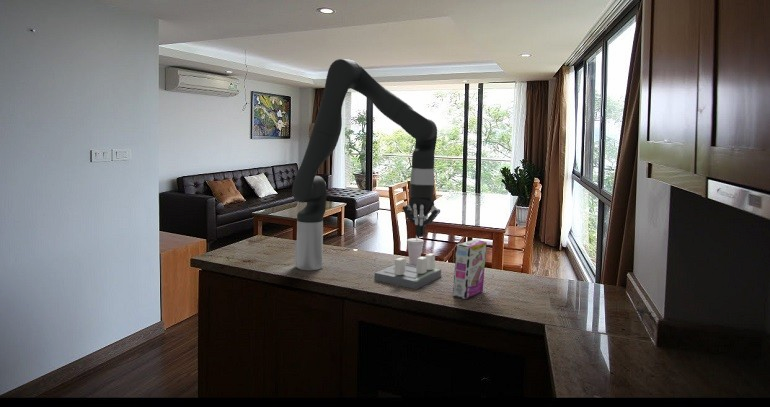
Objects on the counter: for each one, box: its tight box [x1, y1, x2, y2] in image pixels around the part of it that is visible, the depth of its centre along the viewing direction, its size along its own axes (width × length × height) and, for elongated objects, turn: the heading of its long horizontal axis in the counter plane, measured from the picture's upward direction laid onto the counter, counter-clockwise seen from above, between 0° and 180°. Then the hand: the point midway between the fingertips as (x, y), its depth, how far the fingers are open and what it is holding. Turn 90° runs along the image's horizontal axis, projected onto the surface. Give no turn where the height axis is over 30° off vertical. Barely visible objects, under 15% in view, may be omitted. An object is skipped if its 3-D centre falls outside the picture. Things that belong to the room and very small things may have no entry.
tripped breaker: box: [394, 257, 406, 275], centre depth 156 cm, size 2×4×5 cm, turn 148°
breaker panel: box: [373, 252, 442, 290], centre depth 161 cm, size 16×18×8 cm
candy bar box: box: [452, 239, 488, 300], centre depth 146 cm, size 11×5×16 cm, turn 141°
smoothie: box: [406, 235, 425, 265], centre depth 179 cm, size 6×6×14 cm
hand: (420, 236), depth 151 cm, fingers closed
